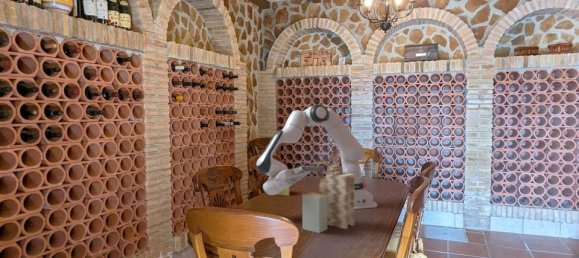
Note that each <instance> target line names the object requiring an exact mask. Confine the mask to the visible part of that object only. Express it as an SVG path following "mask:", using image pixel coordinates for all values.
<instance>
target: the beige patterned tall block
mask: <svg viewBox="0 0 579 258" xmlns="http://www.w3.org/2000/svg"><path fill="white" fill-rule="evenodd" d="M341 171H342V164H341V165H340V164H337V165H332V166H328V167H326V173H325V178H326V195H327V226H332V227H335V228H340V229H345V230H348V227H349V226H351V227H352V226H355V209H354V174H349V173H342V172H341Z"/></svg>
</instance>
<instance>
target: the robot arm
mask: <svg viewBox="0 0 579 258" xmlns="http://www.w3.org/2000/svg"><path fill="white" fill-rule="evenodd" d="M319 124H321V125H322V126H323V128H324V129H325V131H326V132H327V134H328V135H329V136H330V138H331V139H332V141H333V142H334V143H335V144H336V146H338V148H339V154H340V155H339V156H340V162H341V171H342V172H341V173H349V174H354V210H359V209H360V210H361V209H370V208H371V209H372V208H377V207H378V203H377V202H375V201H374V197H373V195H372V193H370V192H369V191H368V190H366V189H365V188H366V187H367V184H365V183H363V182H361V181H362V180H361V178H362V175H361V174H362V172H361V166H360V163H359V161H361V160H363V159H364V157H365V154H366V151H365V148H364V147H363V146H362V145H361V143H360V142H359V141H358V140H357V138H356V137H355V136H354V134H352V133H351V131H350V130H349V129H348V127H347V126H346V125H345V123H344V122H343V120H342V119H341V117H340V116H339V115H338V113H337V112H335V110H333V109H332V108H330V107H327V108H326V107H325V106H324V105H322V104H314V105H313V106H312V105H311V106H308V107H307V108H305V109H304V110H298V109H297V110H293V111H292V112H291V113H290V114H289V116H288V118H287V120H286V121H285V124H284V127H283V128H282V129H281V130H277V131H276V132H275V134H273V136H272V138H271V139H270V141H269V142H268V144H267V146H266V147H265V149H264V150H263V153H261V155H260V156H259V157H258V159H257V160H256V162H255V163H256V165H255V167H256V170H257V172H259V173H260V174H263V175H265V176H268V177H269V178H268V179H267V180H266V181H265V182H264V183H263V185H262V188H263V191H264V192H265V193H266V194H267V195H270V196H274V195H275V194H277V193H279V192H281V191H282V190H283V189H286V188H288V187H289V188H290V187H291V186H293V185H295V184H296V183H299V182H300V181H302V179H303V178H305V177H306V176H308V175H309V174H310V173H311V172H312V171H302V170H304V168H303V166H304V165H300V166H301V167H299V168H297V167H296V168H295V167H294V168H291V169H289V168H288V165H286V164H284V163H283V162H281V161H279V160H277V159H275V158H274V157H273V155H274V153H275V152H276V150H277V149H278V147H279V145H280V144H282V143H284V144H294V143H298V141H300V139H301V138H302V136H303V133H304V130H305V127H306V128H310V127H311V128H312V127H314V126H317V125H319ZM305 166H309V165H308V164H307V165H305Z"/></svg>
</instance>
